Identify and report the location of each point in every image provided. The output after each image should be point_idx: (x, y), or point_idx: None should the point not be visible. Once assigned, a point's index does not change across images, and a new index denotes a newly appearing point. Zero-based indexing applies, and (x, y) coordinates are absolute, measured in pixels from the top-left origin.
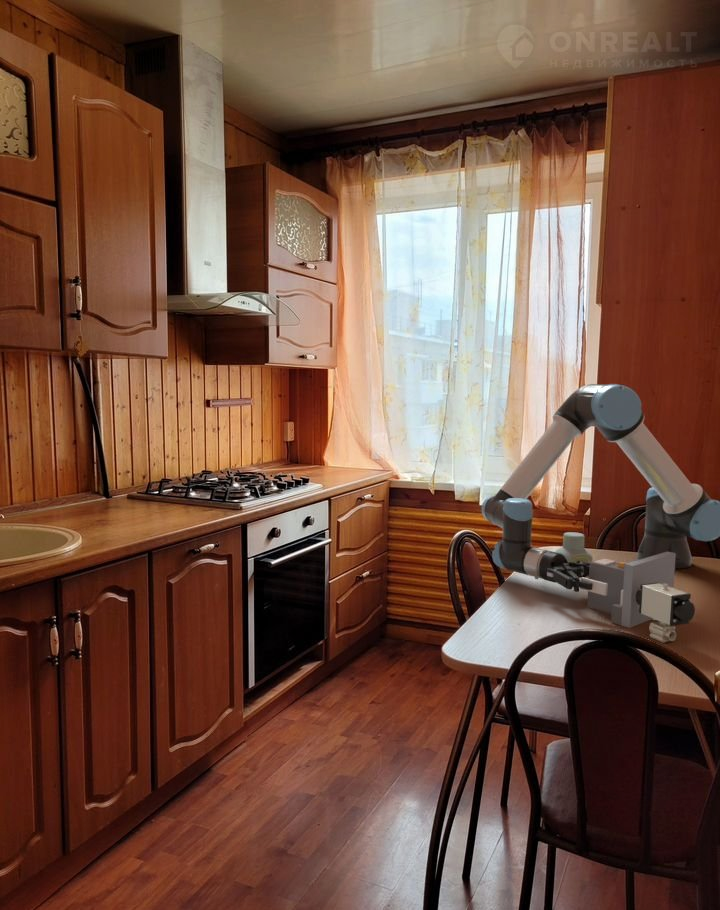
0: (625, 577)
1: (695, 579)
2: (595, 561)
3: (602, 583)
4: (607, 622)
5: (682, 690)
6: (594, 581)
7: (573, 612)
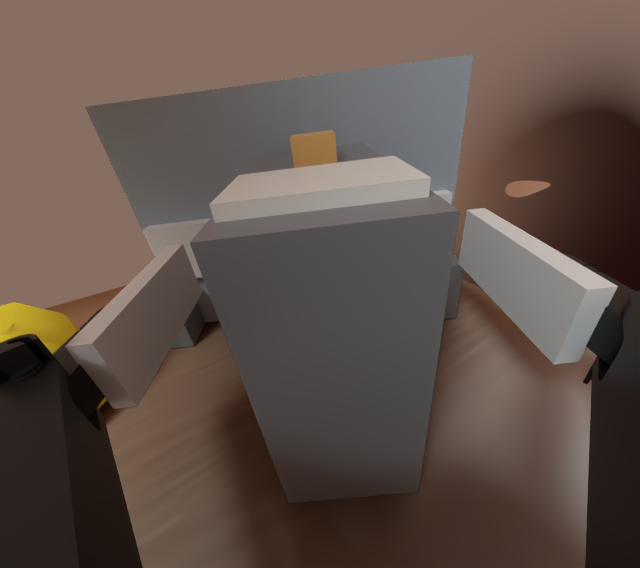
0: (460, 124)
1: None
2: (414, 176)
3: (494, 215)
4: (468, 322)
5: (527, 183)
6: (525, 234)
7: (580, 467)
